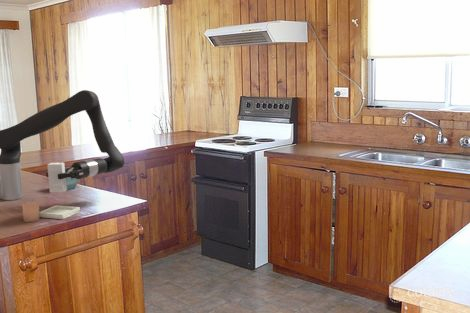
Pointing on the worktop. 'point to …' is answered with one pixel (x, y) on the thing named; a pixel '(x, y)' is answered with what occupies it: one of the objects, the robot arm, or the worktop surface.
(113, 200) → the worktop surface
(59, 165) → the skincare box
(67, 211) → the tray
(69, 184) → the flower pot
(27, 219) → the orange-pink rounded cylinder
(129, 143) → the worktop surface
